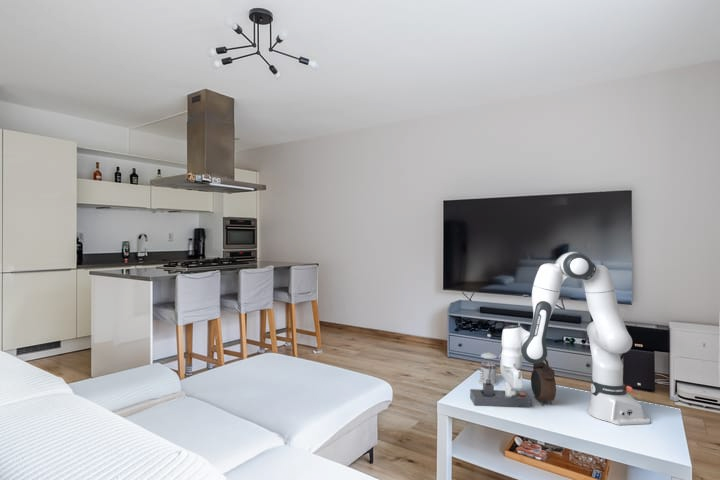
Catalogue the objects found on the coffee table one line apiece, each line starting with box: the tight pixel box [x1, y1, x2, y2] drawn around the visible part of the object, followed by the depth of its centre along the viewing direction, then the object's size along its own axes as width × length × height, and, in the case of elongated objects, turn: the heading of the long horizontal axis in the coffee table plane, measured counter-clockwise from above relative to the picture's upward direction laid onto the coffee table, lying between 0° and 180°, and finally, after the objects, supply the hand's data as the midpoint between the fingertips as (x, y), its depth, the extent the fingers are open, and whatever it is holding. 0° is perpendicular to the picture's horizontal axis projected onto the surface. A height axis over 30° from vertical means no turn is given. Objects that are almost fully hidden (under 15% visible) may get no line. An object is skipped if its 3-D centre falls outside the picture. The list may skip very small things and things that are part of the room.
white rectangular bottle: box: [504, 381, 517, 396], centre depth 184 cm, size 4×3×10 cm
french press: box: [478, 333, 499, 387], centre depth 209 cm, size 10×12×25 cm
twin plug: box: [482, 379, 495, 395], centre depth 184 cm, size 4×3×10 cm
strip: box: [469, 388, 531, 409], centre depth 184 cm, size 24×9×5 cm, turn 87°
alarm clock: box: [530, 358, 557, 407], centre depth 186 cm, size 14×7×20 cm, turn 178°
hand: (510, 392), depth 184 cm, fingers closed on white rectangular bottle, 3 cm apart
